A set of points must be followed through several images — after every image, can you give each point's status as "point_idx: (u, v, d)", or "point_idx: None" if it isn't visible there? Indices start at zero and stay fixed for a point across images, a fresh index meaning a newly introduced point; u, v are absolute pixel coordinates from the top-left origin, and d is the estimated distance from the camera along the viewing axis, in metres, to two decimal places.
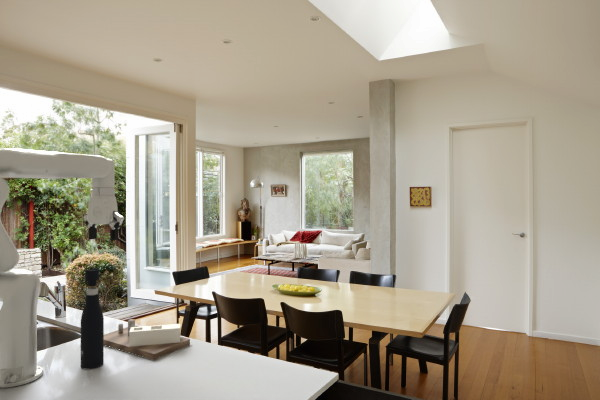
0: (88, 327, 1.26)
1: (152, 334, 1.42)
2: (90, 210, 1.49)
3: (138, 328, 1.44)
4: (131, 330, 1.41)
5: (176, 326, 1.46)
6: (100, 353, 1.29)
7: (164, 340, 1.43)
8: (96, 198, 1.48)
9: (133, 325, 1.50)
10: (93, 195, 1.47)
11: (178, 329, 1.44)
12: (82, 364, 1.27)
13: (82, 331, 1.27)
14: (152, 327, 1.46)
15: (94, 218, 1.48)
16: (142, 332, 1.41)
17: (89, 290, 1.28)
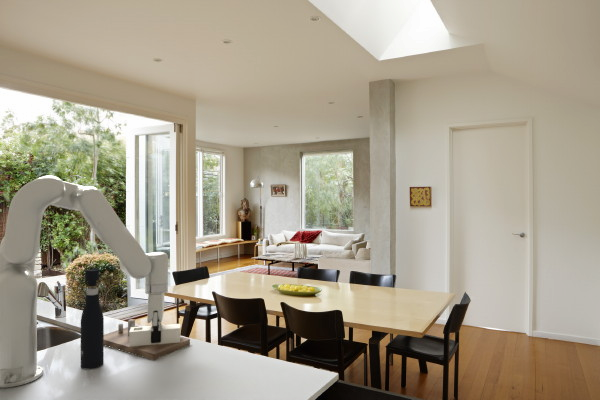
0: (88, 327, 1.26)
1: None
2: None
3: (138, 328, 1.44)
4: (131, 330, 1.41)
5: (176, 326, 1.46)
6: (100, 353, 1.29)
7: (164, 340, 1.43)
8: None
9: (133, 325, 1.50)
10: None
11: (178, 329, 1.44)
12: (82, 364, 1.27)
13: (82, 331, 1.27)
14: None
15: None
16: (142, 332, 1.41)
17: (89, 290, 1.28)
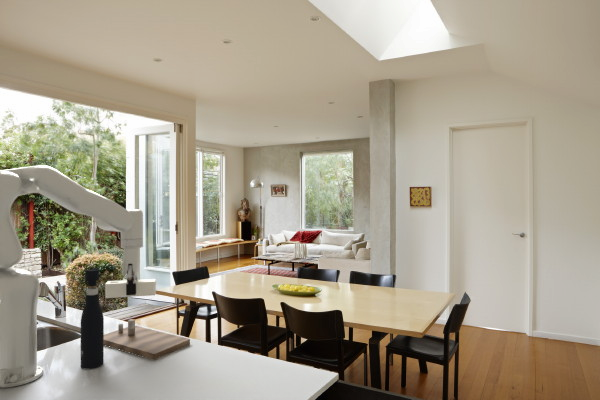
0: (88, 327, 1.26)
1: None
2: None
3: (114, 282, 1.51)
4: (107, 283, 1.48)
5: (151, 280, 1.52)
6: (100, 353, 1.29)
7: (140, 292, 1.49)
8: None
9: (133, 325, 1.50)
10: None
11: (153, 282, 1.50)
12: (82, 364, 1.27)
13: (82, 331, 1.27)
14: None
15: None
16: (118, 284, 1.47)
17: (89, 290, 1.28)
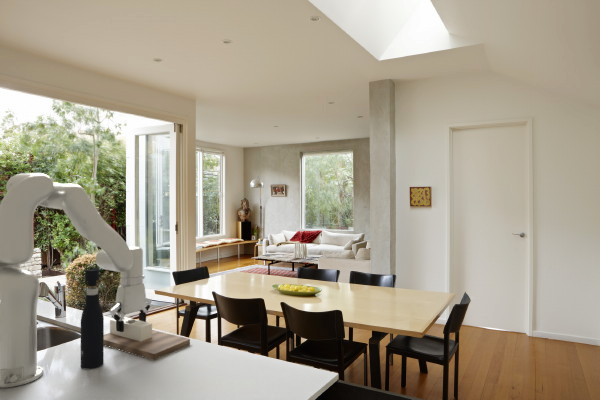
0: (88, 327, 1.26)
1: None
2: None
3: (123, 318, 1.55)
4: (114, 319, 1.54)
5: (143, 325, 1.47)
6: (100, 353, 1.29)
7: (130, 335, 1.47)
8: None
9: None
10: None
11: (139, 328, 1.45)
12: (82, 364, 1.27)
13: (82, 331, 1.27)
14: None
15: None
16: None
17: (89, 290, 1.28)
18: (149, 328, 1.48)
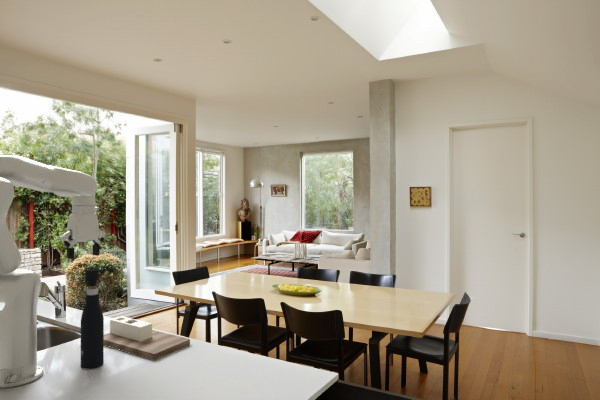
0: (88, 327, 1.26)
1: (123, 326, 1.49)
2: None
3: (123, 318, 1.55)
4: (114, 319, 1.54)
5: (143, 325, 1.47)
6: (100, 353, 1.29)
7: (130, 335, 1.47)
8: None
9: None
10: None
11: (139, 328, 1.45)
12: (82, 364, 1.27)
13: (82, 331, 1.27)
14: None
15: None
16: (117, 323, 1.51)
17: (89, 290, 1.28)
18: (149, 328, 1.48)
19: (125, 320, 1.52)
